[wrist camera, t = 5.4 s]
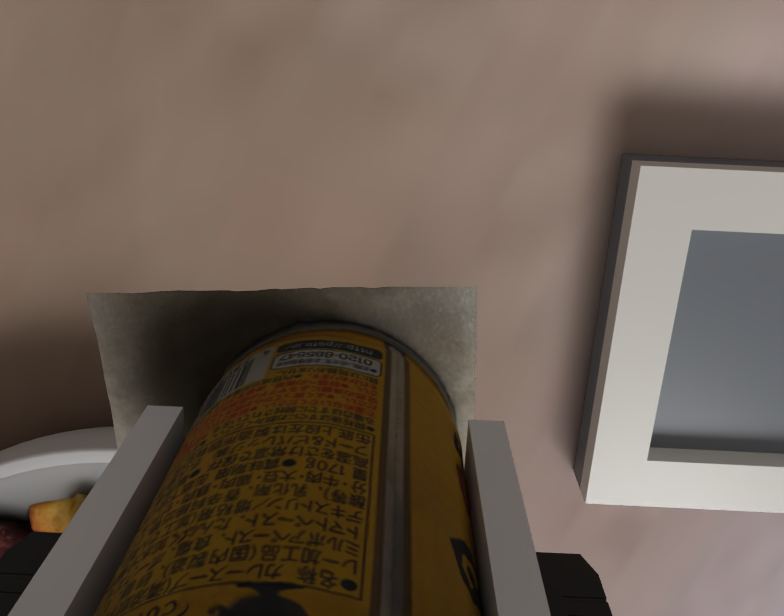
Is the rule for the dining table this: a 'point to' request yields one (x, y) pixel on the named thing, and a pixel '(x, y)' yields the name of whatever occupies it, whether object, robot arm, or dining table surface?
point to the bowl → (50, 480)
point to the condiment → (299, 450)
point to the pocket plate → (689, 340)
